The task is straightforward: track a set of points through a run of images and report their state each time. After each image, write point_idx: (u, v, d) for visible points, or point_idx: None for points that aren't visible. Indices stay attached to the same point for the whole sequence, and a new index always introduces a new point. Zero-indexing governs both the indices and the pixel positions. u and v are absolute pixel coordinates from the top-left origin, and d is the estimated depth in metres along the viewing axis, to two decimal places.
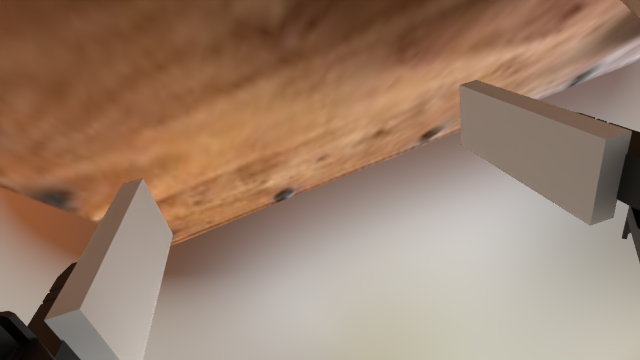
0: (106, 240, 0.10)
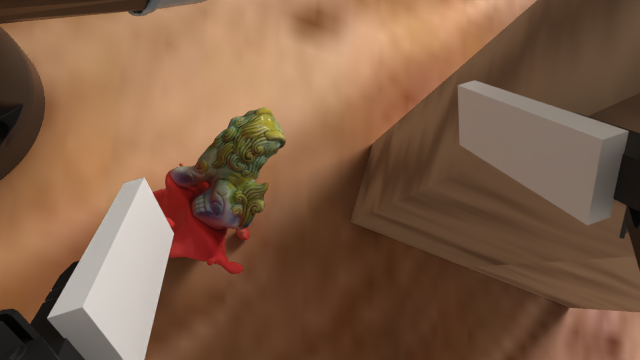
0: (108, 239, 0.10)
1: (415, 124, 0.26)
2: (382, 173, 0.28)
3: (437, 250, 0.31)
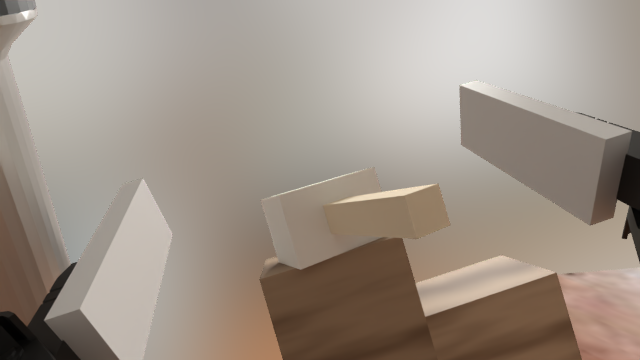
0: (106, 240, 0.10)
1: None
2: None
3: None
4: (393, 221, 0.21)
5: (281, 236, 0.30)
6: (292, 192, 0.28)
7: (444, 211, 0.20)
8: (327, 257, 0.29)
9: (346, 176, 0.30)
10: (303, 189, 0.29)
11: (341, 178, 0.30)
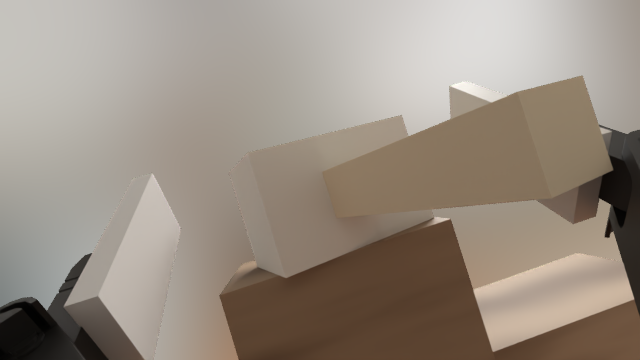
0: (120, 231, 0.10)
1: None
2: None
3: None
4: (475, 168, 0.09)
5: (257, 225, 0.19)
6: (271, 149, 0.17)
7: (600, 138, 0.09)
8: (331, 256, 0.17)
9: (359, 127, 0.19)
10: (289, 145, 0.17)
11: (351, 130, 0.19)
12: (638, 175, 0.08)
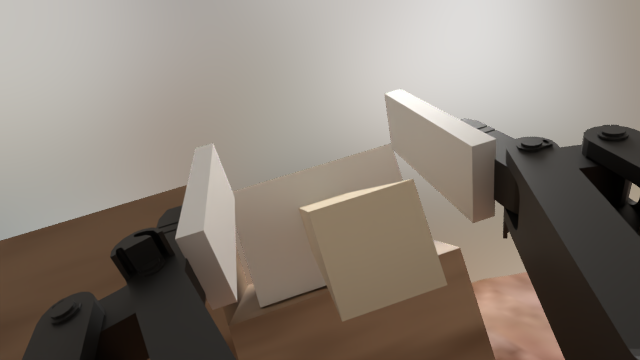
0: (202, 186, 0.12)
1: None
2: None
3: None
4: (321, 263, 0.09)
5: None
6: (248, 188, 0.18)
7: (431, 249, 0.08)
8: (305, 289, 0.18)
9: (340, 161, 0.19)
10: (266, 183, 0.19)
11: (331, 164, 0.19)
12: (523, 182, 0.09)
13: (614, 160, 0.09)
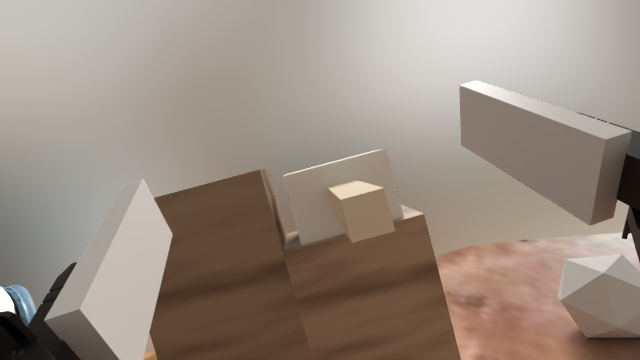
0: (106, 240, 0.10)
1: None
2: None
3: None
4: (343, 220, 0.21)
5: None
6: (295, 174, 0.30)
7: (389, 216, 0.19)
8: (328, 236, 0.30)
9: (353, 158, 0.30)
10: (307, 171, 0.30)
11: (347, 160, 0.30)
12: None
13: None
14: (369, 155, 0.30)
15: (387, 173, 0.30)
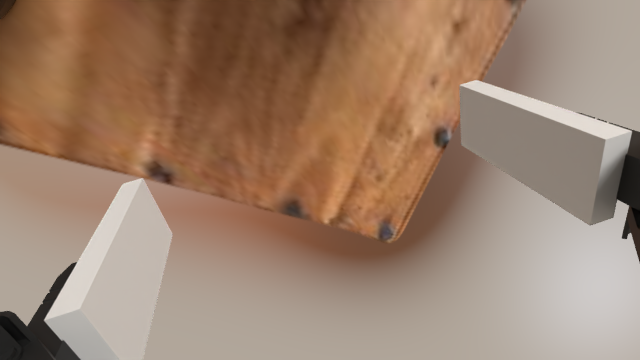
0: (106, 240, 0.10)
1: None
2: None
3: None
4: None
5: None
6: None
7: None
8: None
9: None
10: None
11: None
12: None
13: None
14: None
15: None
